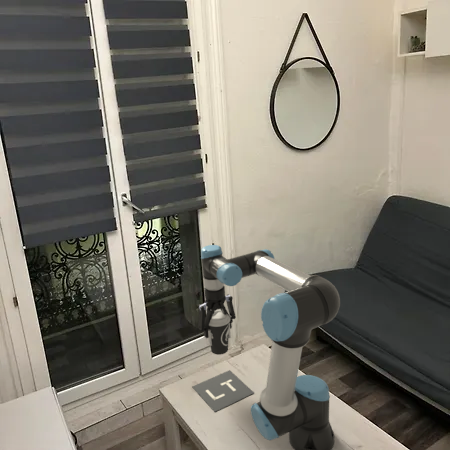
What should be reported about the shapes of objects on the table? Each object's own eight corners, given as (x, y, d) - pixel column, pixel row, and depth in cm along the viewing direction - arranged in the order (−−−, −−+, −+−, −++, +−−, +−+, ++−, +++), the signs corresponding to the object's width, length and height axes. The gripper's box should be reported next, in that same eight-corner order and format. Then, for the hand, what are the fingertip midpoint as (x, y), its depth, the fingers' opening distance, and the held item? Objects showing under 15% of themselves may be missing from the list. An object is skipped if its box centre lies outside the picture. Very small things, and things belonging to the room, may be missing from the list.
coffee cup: (221, 340, 189) (219, 306, 184) (237, 350, 182) (235, 315, 177) (202, 349, 183) (199, 315, 179) (217, 360, 176) (215, 324, 171)
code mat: (254, 393, 186) (254, 392, 185) (214, 412, 177) (214, 411, 177) (229, 370, 200) (229, 370, 200) (192, 387, 192) (192, 386, 192)
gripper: (232, 275, 182) (235, 327, 189) (184, 290, 172) (190, 345, 179) (243, 281, 176) (246, 335, 183) (194, 298, 166) (199, 354, 173)
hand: (218, 340), depth 181 cm, fingers closed on coffee cup, 8 cm apart
